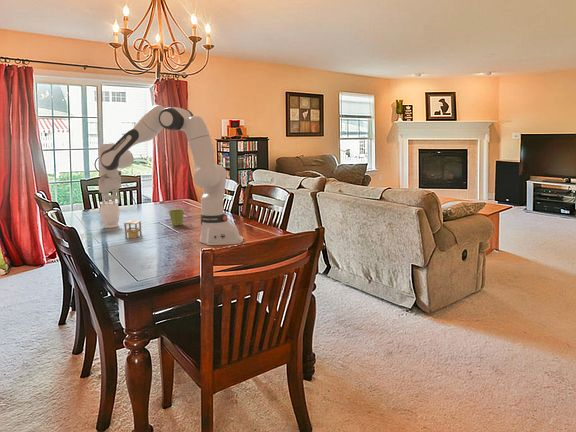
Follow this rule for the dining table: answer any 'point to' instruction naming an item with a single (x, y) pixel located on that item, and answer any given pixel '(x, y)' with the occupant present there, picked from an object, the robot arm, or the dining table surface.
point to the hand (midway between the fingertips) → (111, 199)
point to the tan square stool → (133, 228)
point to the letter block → (132, 234)
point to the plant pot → (177, 217)
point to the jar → (110, 214)
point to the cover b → (111, 197)
